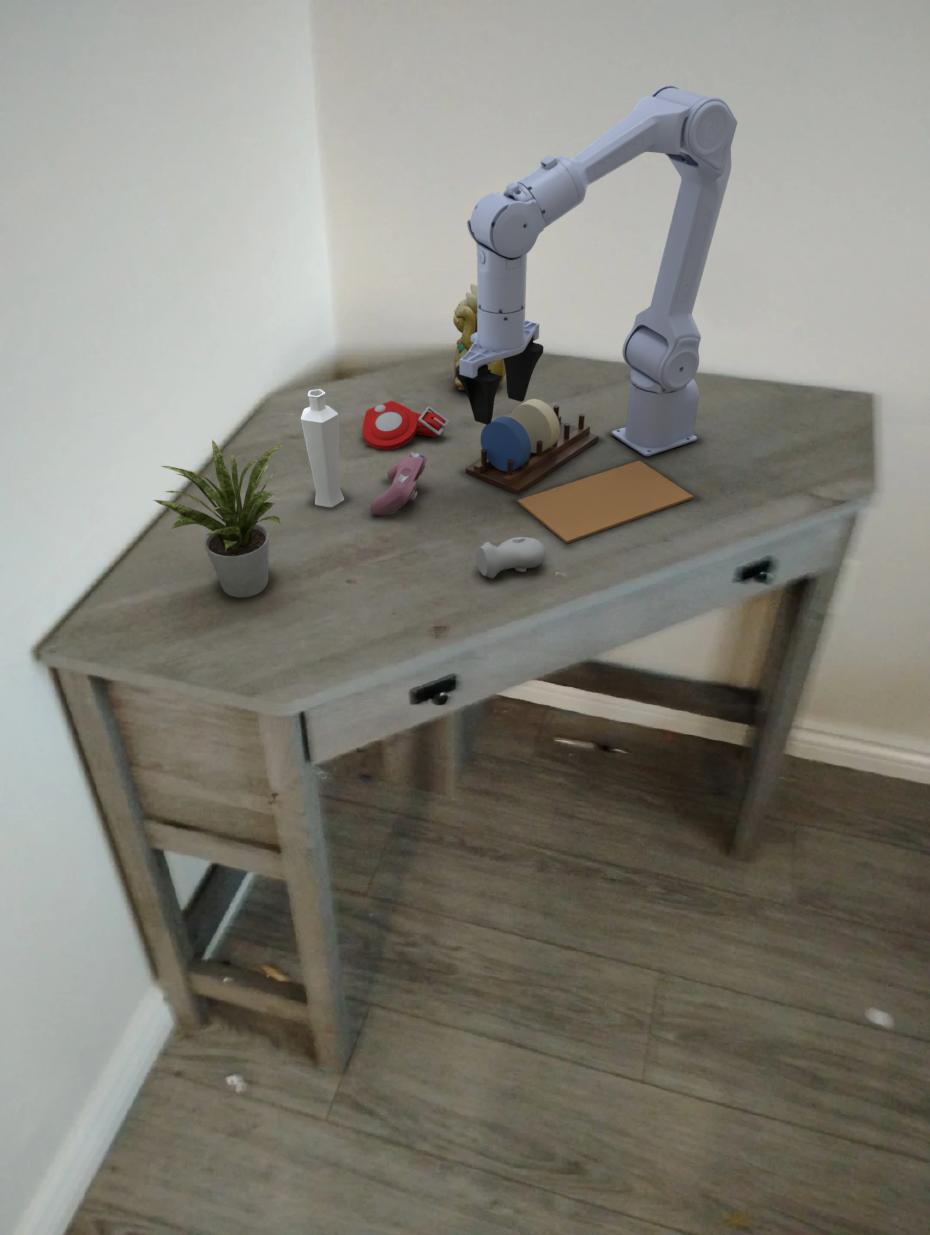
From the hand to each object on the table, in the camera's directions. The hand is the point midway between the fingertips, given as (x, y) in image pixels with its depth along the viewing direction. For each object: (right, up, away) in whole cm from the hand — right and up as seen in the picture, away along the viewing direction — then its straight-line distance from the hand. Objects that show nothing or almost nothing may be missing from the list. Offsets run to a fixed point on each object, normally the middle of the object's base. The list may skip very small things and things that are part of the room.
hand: (499, 410), depth 119 cm
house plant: (-30, -22, -10) cm, 38 cm away
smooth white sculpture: (+1, -21, -9) cm, 23 cm away
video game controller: (-13, -11, +3) cm, 17 cm away
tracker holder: (-13, -1, +16) cm, 21 cm away
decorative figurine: (-2, +16, +24) cm, 30 cm away
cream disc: (+5, 0, +8) cm, 10 cm away
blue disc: (+1, -3, +4) cm, 6 cm away
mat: (+14, -11, +2) cm, 18 cm away
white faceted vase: (-22, -11, +3) cm, 25 cm away
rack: (+5, -4, +11) cm, 13 cm away
